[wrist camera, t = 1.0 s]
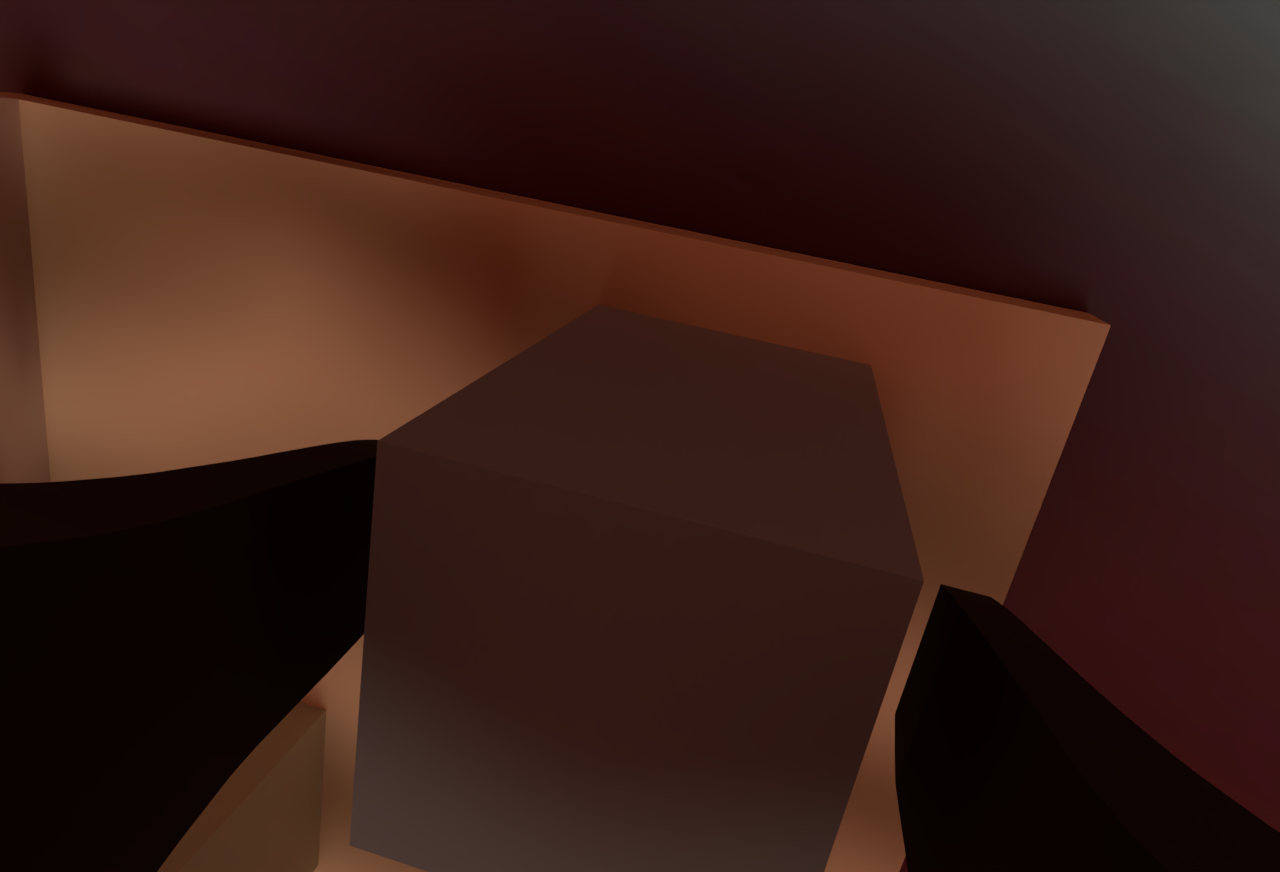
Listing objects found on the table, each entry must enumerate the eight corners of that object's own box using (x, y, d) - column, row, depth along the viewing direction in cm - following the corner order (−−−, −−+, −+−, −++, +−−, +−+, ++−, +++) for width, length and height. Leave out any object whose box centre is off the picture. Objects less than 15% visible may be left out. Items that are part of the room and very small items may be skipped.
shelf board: (818, 1031, 21) (817, 1201, 17) (74, 780, 24) (-51, 882, 21) (1088, 313, 14) (1172, 358, 11) (17, 92, 17) (-181, 73, 14)
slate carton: (798, 615, 16) (779, 1002, 9) (558, 551, 17) (348, 858, 9) (871, 365, 14) (923, 581, 7) (598, 304, 15) (377, 441, 8)
